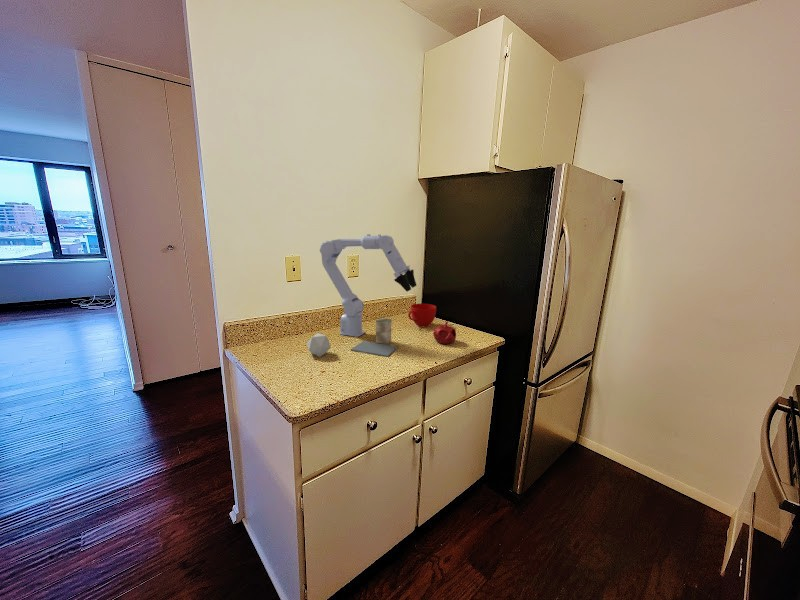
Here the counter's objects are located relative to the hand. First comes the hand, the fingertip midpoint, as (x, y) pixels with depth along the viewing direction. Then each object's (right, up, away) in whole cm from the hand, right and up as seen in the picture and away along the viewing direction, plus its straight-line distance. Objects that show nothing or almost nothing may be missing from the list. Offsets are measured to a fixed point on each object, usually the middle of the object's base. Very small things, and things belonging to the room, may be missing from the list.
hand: (411, 288), depth 139 cm
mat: (-15, -25, -8) cm, 30 cm away
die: (-36, -26, -15) cm, 47 cm away
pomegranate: (+14, -24, +4) cm, 28 cm away
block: (-12, -23, +1) cm, 26 cm away
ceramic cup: (+5, -18, +27) cm, 33 cm away
